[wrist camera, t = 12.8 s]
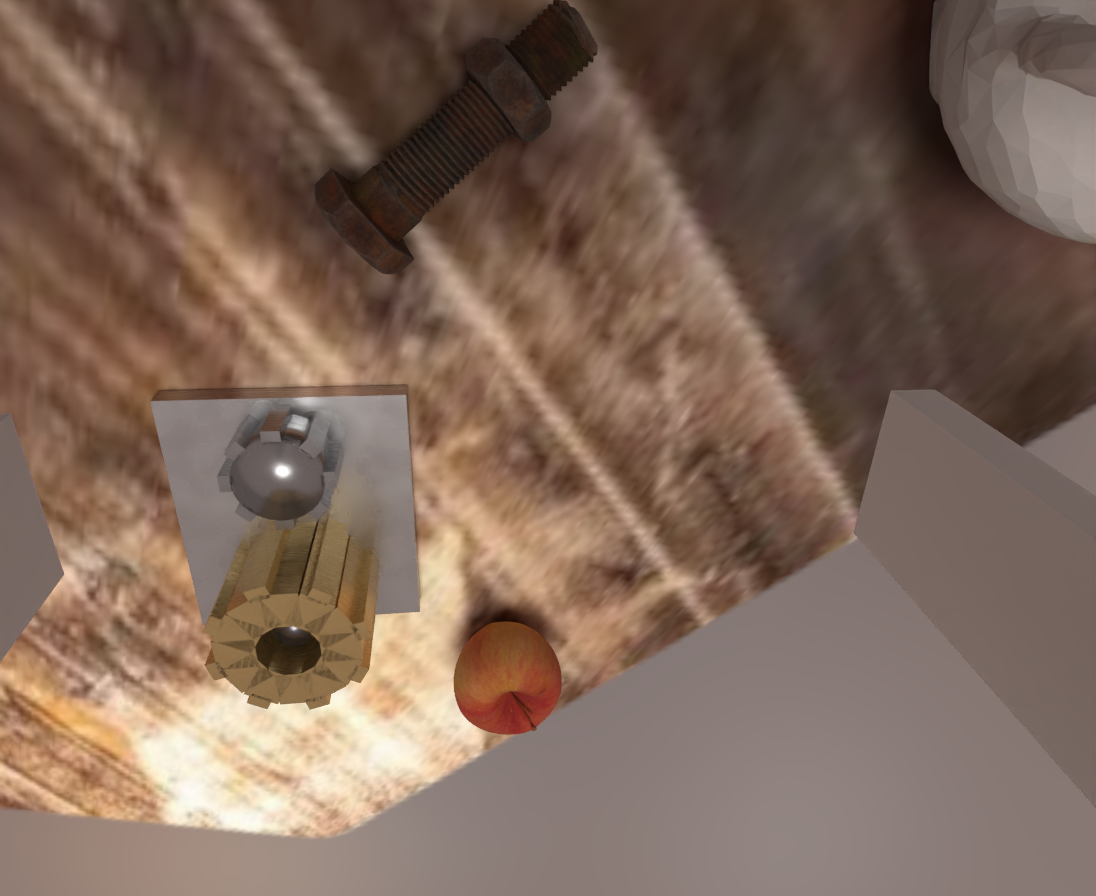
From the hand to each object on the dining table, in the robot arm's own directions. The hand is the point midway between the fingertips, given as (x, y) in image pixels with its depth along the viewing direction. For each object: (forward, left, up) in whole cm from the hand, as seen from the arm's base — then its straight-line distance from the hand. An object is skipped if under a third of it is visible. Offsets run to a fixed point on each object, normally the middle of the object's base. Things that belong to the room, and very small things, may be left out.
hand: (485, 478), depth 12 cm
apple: (+32, +3, -32) cm, 45 cm away
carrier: (+20, -10, -32) cm, 39 cm away
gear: (+24, -10, -30) cm, 40 cm away
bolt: (-2, +1, -32) cm, 32 cm away
